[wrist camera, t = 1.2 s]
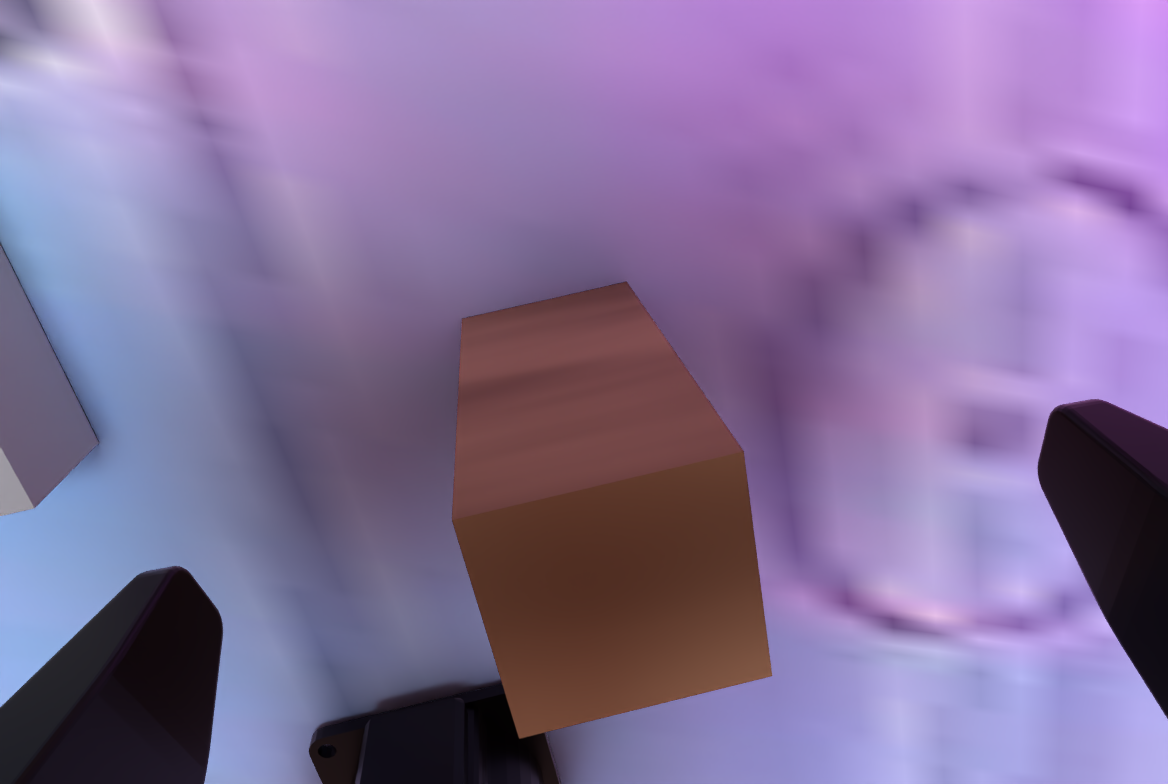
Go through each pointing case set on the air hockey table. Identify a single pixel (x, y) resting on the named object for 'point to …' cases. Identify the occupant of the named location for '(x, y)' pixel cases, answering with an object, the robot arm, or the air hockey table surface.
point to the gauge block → (33, 406)
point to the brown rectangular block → (601, 514)
